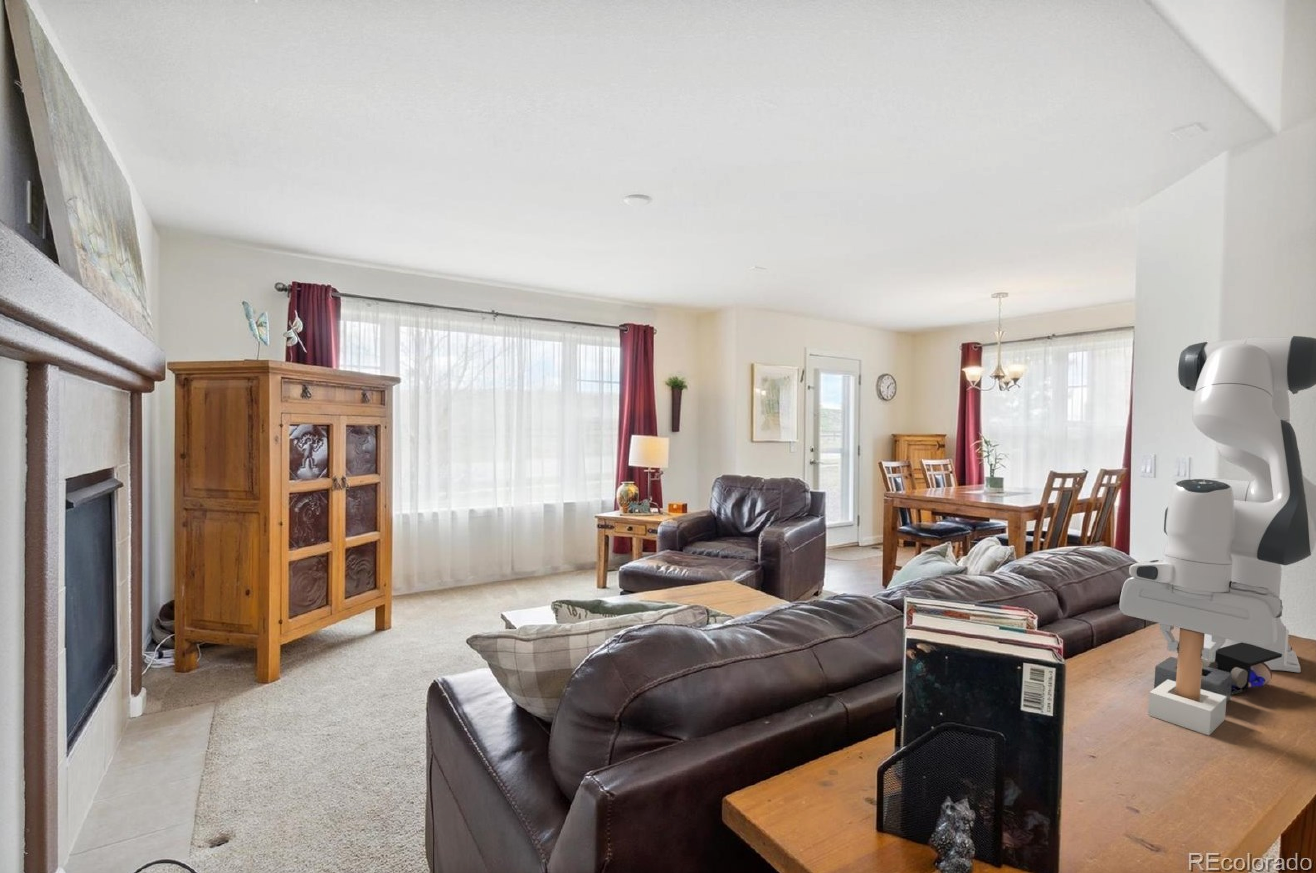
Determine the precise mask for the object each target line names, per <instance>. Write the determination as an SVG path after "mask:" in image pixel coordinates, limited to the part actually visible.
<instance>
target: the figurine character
mask: <svg viewBox="0 0 1316 873" xmlns="http://www.w3.org/2000/svg"><path fill="white" fill-rule="evenodd" d="M1280 657H1282V654H1280V653H1277V652H1274V651H1271V650H1268V649H1264V648H1261V647H1258V646H1255V645H1251V644H1247V643H1243V642H1241V643H1238V644H1234V645H1230V646H1227V647H1223V648H1219V649H1218V650H1217V651H1216V656H1215V661H1214V662H1210V661H1206V660H1203V663H1202V665H1203V666H1207V667H1211V668H1215V669H1218V670H1222V671H1226V672H1230V673H1232V683H1231V690H1233V691H1231V695H1236V694H1237V695H1238V693H1239V694H1240V693H1241V692H1243V689H1245V690H1248V689H1249V688H1253V687H1254V688H1255V687H1263V686H1264V685H1267V684H1269V683H1270V682H1271V681H1272V679H1273V672H1272V670H1271V669H1270V668H1269V667H1268V666H1267V665H1266V664H1265V663H1264V662H1267V661H1270V660H1273V659H1277V658H1280Z"/></svg>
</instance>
